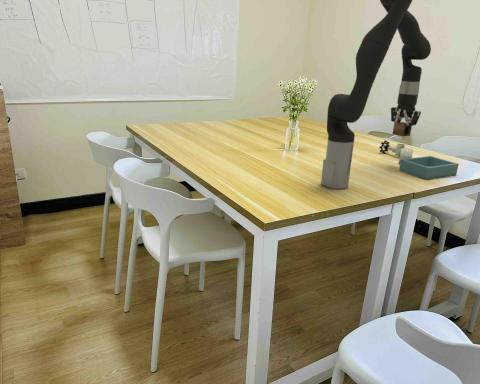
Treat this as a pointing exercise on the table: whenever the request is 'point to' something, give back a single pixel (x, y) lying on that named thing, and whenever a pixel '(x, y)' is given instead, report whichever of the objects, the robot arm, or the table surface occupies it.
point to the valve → (392, 148)
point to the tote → (428, 167)
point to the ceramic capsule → (405, 153)
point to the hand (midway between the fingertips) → (401, 133)
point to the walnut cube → (400, 129)
